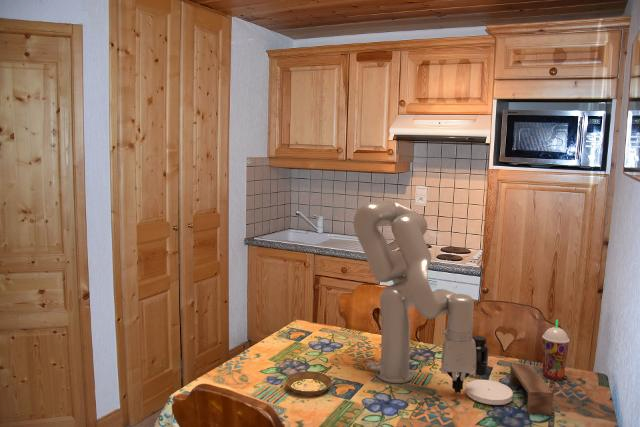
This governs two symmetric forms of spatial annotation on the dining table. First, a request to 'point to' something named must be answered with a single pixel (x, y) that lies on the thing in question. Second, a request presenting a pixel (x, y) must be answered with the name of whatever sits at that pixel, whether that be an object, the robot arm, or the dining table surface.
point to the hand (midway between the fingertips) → (457, 391)
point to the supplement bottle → (481, 354)
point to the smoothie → (555, 352)
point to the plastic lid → (489, 392)
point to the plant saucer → (309, 375)
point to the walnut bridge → (532, 388)
